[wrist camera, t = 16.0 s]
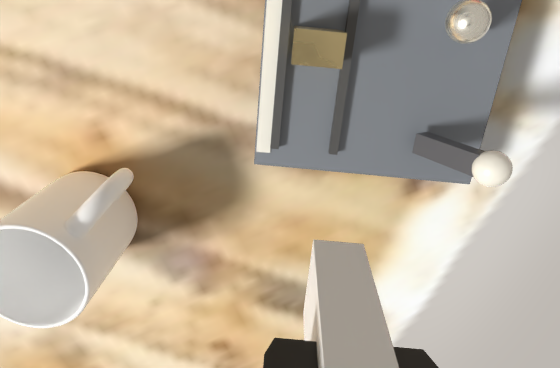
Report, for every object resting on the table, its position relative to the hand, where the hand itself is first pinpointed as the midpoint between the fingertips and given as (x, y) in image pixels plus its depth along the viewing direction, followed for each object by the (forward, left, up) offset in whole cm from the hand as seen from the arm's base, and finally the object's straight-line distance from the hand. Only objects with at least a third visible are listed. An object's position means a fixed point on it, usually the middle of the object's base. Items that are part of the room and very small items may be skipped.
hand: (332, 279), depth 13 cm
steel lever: (-8, +10, -18) cm, 22 cm away
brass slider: (-6, 0, -18) cm, 19 cm away
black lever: (0, +7, -18) cm, 20 cm away
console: (-7, +4, -22) cm, 24 cm away
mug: (+9, -17, -23) cm, 30 cm away
